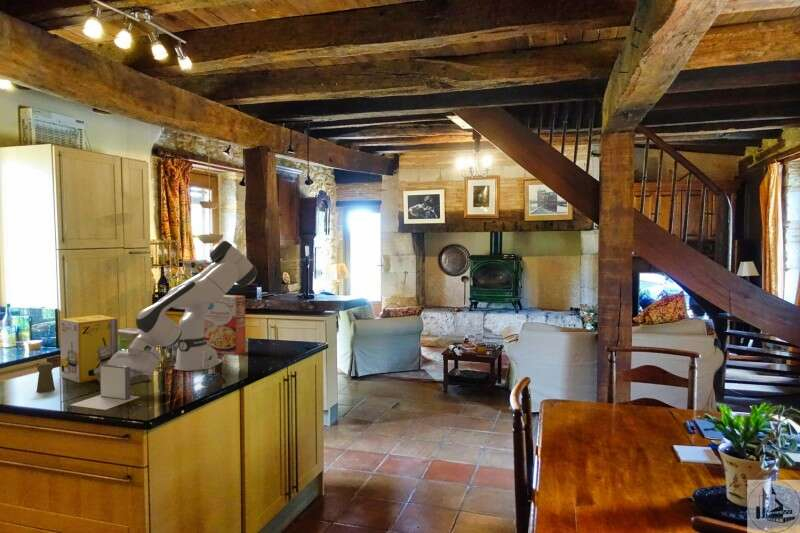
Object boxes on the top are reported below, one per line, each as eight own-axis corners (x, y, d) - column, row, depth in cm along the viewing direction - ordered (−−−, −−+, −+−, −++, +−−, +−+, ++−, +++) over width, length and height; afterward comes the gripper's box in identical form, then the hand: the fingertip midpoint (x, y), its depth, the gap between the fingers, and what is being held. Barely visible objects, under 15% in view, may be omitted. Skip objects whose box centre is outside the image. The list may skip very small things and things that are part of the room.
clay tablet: (87, 383, 217) (122, 388, 210) (87, 371, 217) (122, 376, 210) (117, 376, 230) (151, 380, 223) (117, 365, 230) (151, 369, 223)
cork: (42, 388, 208) (41, 361, 207) (58, 388, 209) (57, 360, 208) (32, 393, 202) (32, 364, 201) (49, 392, 202) (48, 364, 202)
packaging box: (118, 374, 230) (118, 318, 229) (79, 382, 217) (78, 322, 216) (100, 369, 239) (99, 314, 238) (61, 376, 226) (59, 319, 225)
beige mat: (107, 394, 201) (106, 392, 201) (140, 398, 197) (140, 396, 197) (69, 406, 186) (69, 404, 186) (105, 411, 181) (105, 409, 181)
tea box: (111, 360, 257) (110, 330, 256) (128, 356, 266) (128, 327, 266) (133, 363, 251) (133, 332, 251) (151, 359, 261) (150, 329, 260)
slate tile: (104, 395, 198) (104, 363, 197) (130, 398, 194) (129, 366, 194) (100, 396, 196) (99, 365, 195) (125, 400, 193) (125, 367, 192)
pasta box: (199, 351, 279) (199, 295, 278) (209, 348, 287) (209, 294, 286) (235, 355, 272) (235, 297, 271) (245, 352, 280) (245, 295, 278)
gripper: (114, 344, 207) (94, 375, 198) (157, 348, 201) (138, 379, 192) (123, 353, 211) (104, 383, 203) (166, 357, 206) (147, 388, 197)
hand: (121, 381), depth 197 cm, fingers closed
